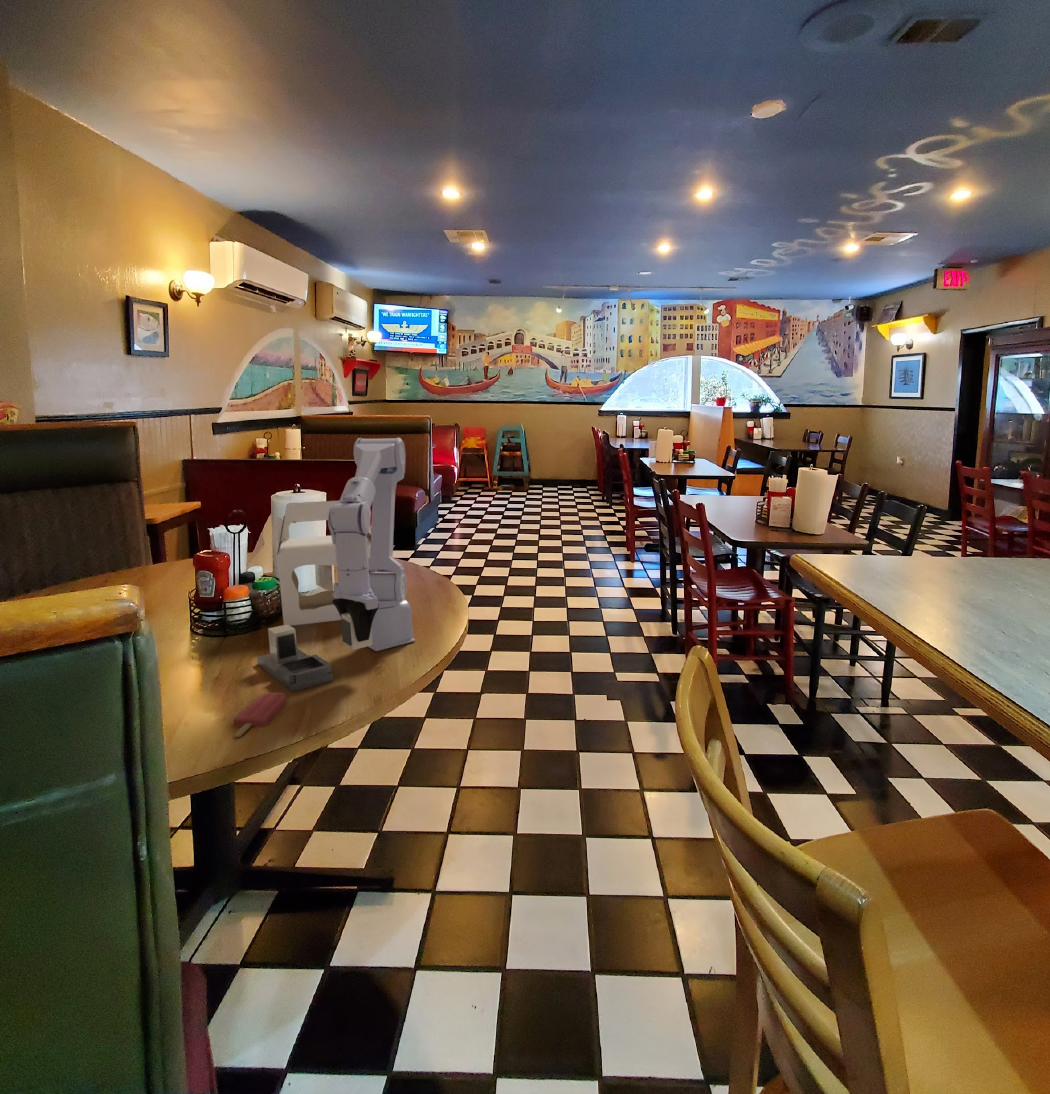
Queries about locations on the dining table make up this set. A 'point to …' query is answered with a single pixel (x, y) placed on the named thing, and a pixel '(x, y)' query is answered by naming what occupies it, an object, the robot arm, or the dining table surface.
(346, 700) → the dining table surface
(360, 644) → the block
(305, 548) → the gable box
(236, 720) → the popsicle
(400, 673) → the dining table surface
